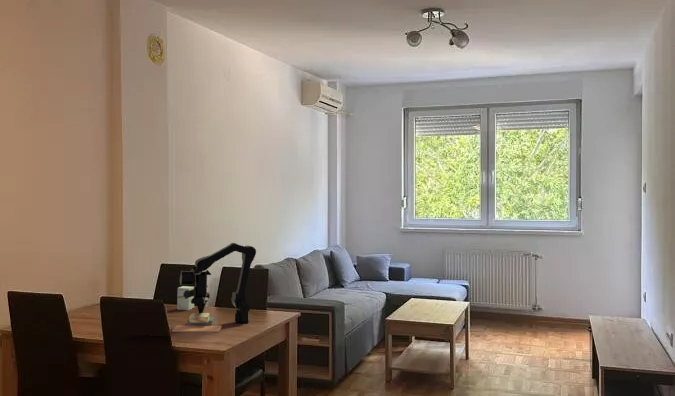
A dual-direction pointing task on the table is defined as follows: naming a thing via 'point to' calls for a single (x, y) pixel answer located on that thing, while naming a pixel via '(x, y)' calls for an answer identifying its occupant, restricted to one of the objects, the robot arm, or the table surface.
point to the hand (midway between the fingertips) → (200, 315)
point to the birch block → (199, 318)
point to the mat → (196, 328)
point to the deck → (210, 322)
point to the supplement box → (181, 301)
